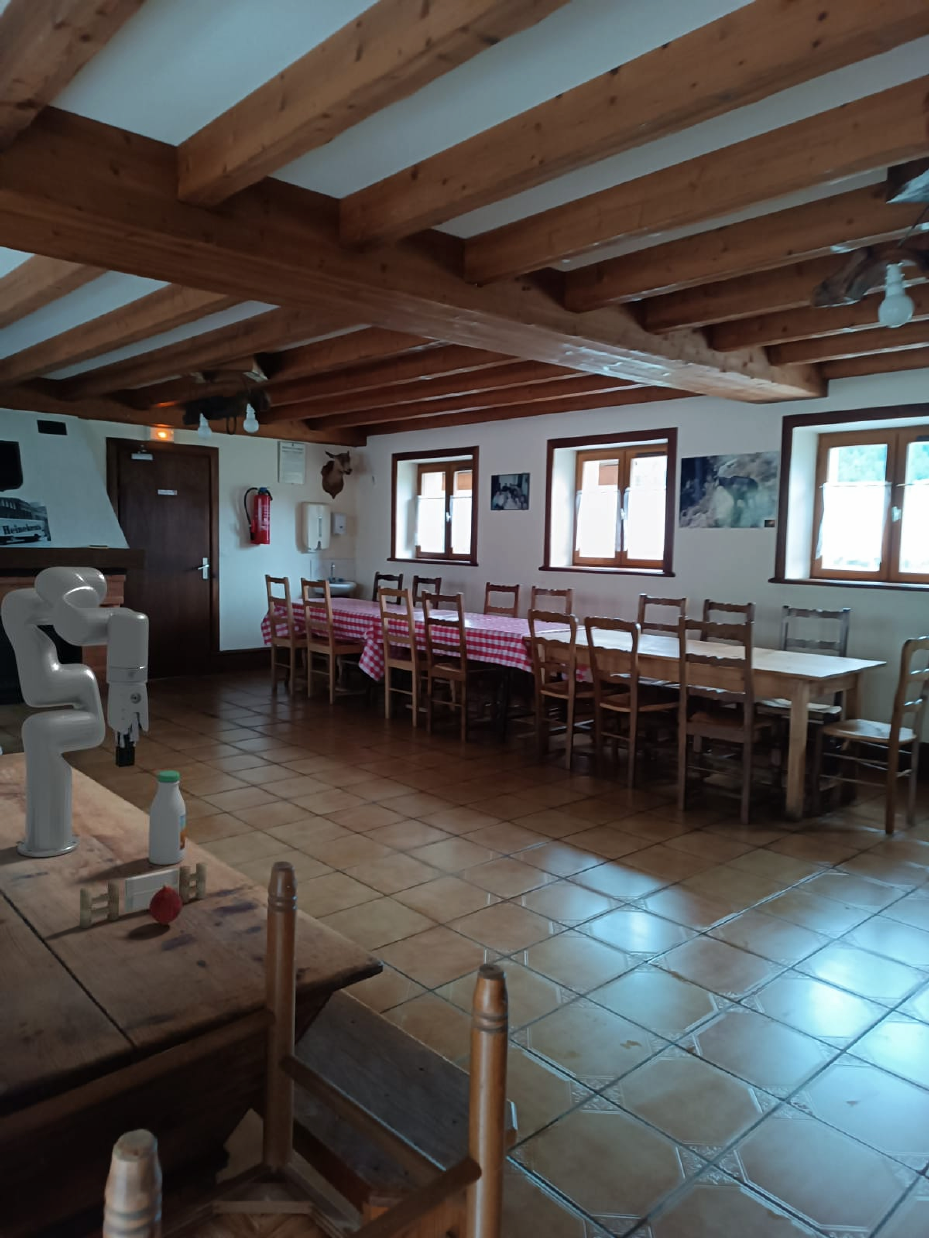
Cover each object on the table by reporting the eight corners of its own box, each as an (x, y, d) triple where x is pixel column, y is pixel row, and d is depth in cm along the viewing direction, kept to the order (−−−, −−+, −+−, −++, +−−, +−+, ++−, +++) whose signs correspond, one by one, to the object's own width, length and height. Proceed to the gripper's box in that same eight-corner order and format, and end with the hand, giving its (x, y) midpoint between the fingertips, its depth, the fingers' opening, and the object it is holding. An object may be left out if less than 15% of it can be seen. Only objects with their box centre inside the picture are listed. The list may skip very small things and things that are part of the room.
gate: (175, 898, 171) (176, 868, 170) (177, 900, 170) (178, 870, 169) (124, 909, 164) (125, 878, 164) (126, 911, 163) (127, 880, 163)
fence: (78, 924, 159) (78, 888, 158) (202, 894, 175) (203, 861, 175) (81, 928, 157) (82, 892, 157) (207, 897, 174) (208, 864, 173)
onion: (188, 921, 163) (189, 881, 162) (168, 934, 157) (169, 892, 157) (162, 915, 165) (163, 875, 164) (142, 927, 159) (143, 886, 158)
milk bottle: (173, 867, 188) (175, 779, 186) (141, 863, 189) (143, 775, 188) (190, 855, 195) (193, 770, 194) (160, 851, 197) (162, 766, 195)
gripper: (160, 679, 165) (158, 771, 167) (131, 667, 176) (129, 754, 178) (121, 681, 160) (119, 777, 162) (94, 670, 171) (92, 759, 173)
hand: (125, 765), depth 170 cm, fingers closed
